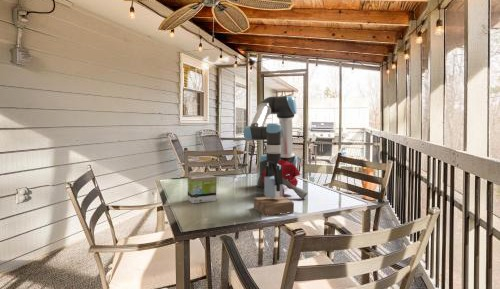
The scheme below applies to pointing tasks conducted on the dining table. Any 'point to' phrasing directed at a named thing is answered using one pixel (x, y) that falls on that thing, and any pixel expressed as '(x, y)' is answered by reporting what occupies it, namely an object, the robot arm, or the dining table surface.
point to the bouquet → (290, 178)
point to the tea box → (201, 188)
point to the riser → (273, 205)
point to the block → (271, 187)
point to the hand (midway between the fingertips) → (273, 195)
